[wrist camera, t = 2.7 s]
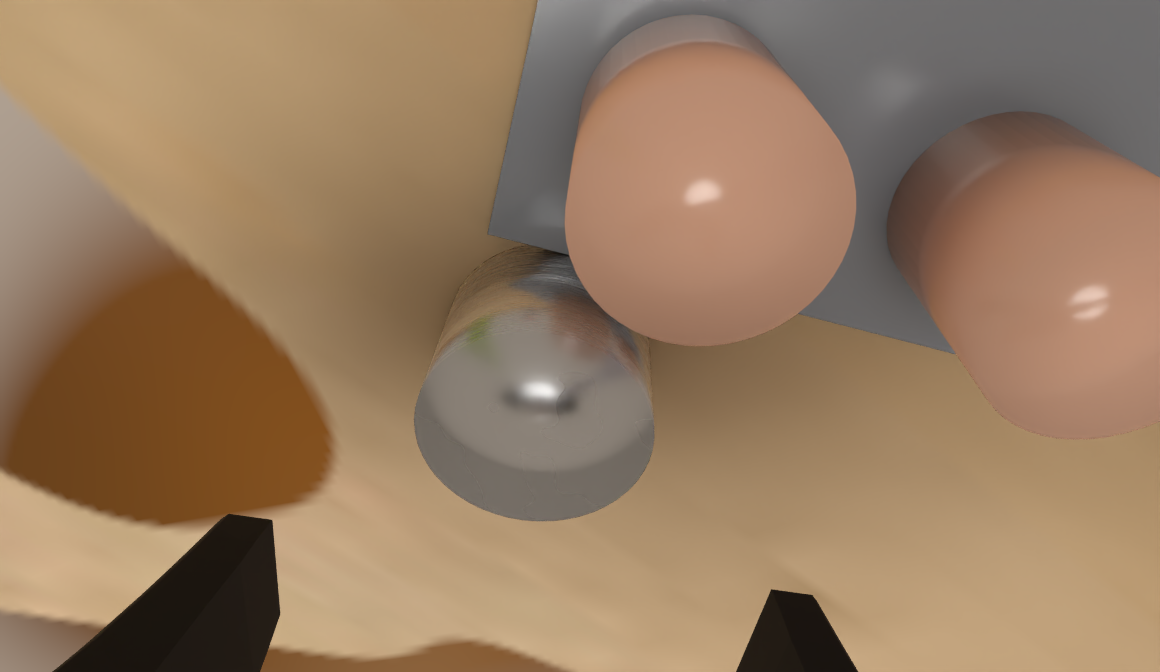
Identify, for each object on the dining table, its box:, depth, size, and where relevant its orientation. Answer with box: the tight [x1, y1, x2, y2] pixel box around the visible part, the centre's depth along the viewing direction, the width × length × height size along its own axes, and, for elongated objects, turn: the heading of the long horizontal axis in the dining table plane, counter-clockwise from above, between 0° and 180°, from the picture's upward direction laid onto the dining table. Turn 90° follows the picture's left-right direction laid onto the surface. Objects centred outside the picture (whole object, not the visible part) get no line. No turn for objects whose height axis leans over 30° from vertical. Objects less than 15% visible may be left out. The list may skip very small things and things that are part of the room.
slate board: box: [488, 0, 1160, 354], centre depth 15 cm, size 14×11×1 cm
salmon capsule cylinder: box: [887, 111, 1160, 439], centre depth 15 cm, size 4×4×5 cm
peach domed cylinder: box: [565, 14, 856, 346], centre depth 14 cm, size 4×4×5 cm
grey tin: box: [414, 245, 654, 521], centre depth 18 cm, size 5×5×4 cm
